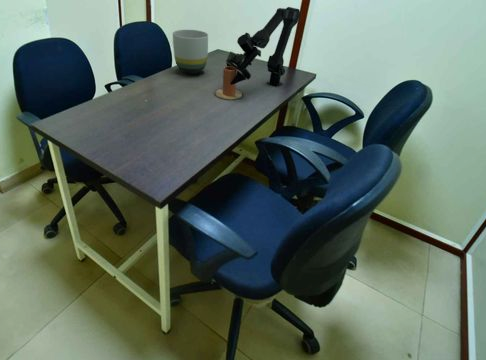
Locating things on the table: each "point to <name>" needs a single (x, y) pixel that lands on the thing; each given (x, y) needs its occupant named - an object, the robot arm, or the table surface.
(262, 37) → the robot arm
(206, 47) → the planter
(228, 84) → the terracotta pot
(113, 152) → the table surface
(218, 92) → the beige flat disc
